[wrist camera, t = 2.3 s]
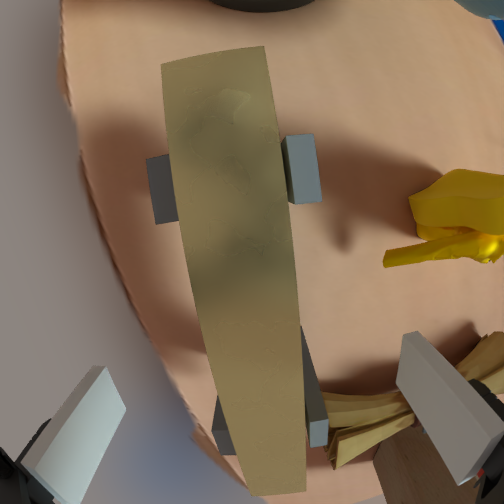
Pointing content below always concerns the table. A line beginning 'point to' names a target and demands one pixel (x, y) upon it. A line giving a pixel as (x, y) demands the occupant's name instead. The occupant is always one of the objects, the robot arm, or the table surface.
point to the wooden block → (418, 472)
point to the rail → (240, 255)
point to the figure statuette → (456, 220)
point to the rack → (300, 192)
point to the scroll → (399, 405)
